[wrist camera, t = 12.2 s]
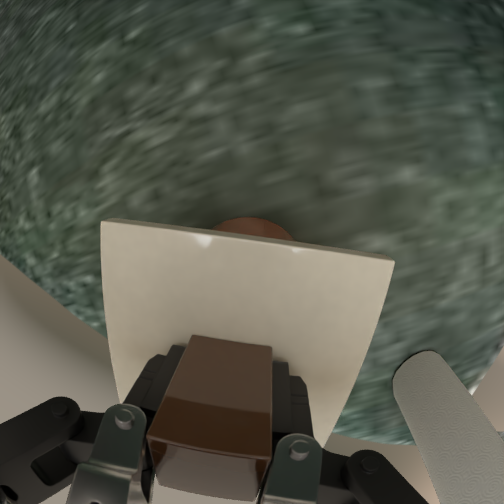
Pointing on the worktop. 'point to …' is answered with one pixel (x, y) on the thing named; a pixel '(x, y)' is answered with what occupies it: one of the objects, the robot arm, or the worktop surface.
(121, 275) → the lid
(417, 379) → the paper towel roll
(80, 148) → the worktop surface
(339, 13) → the worktop surface
